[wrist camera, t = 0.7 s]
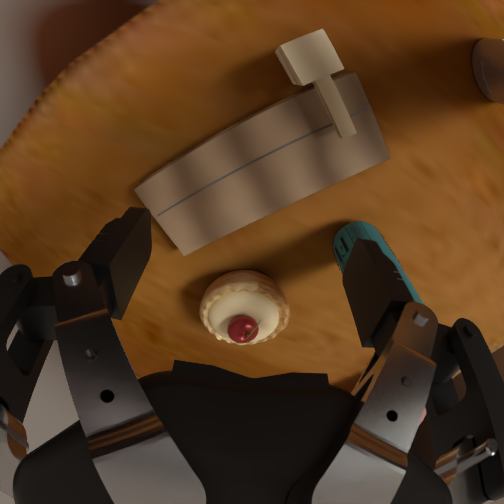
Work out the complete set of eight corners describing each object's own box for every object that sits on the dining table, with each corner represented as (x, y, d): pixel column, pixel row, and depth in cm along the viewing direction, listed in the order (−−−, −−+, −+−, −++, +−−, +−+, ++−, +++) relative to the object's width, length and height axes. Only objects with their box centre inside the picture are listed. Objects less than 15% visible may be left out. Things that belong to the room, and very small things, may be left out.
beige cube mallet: (309, 37, 23) (322, 28, 18) (350, 119, 28) (371, 129, 23) (274, 51, 24) (279, 45, 19) (318, 133, 29) (332, 146, 24)
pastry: (193, 305, 43) (182, 352, 36) (223, 247, 37) (213, 295, 30) (263, 331, 46) (263, 377, 39) (303, 281, 40) (310, 330, 32)
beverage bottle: (329, 214, 34) (389, 350, 18) (379, 212, 34) (461, 333, 17) (327, 258, 38) (368, 394, 21) (373, 255, 37) (432, 378, 21)
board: (347, 71, 24) (355, 71, 22) (381, 152, 29) (390, 158, 27) (140, 181, 31) (133, 190, 29) (188, 244, 36) (184, 256, 34)
